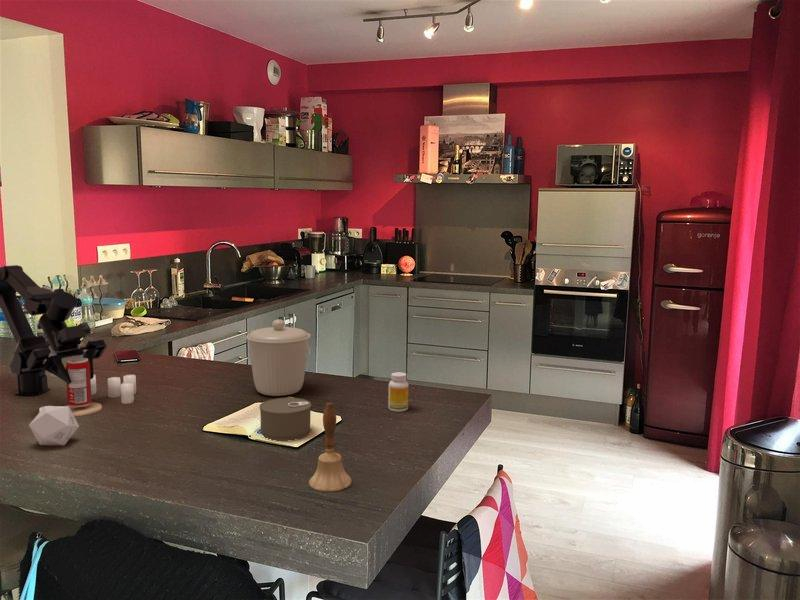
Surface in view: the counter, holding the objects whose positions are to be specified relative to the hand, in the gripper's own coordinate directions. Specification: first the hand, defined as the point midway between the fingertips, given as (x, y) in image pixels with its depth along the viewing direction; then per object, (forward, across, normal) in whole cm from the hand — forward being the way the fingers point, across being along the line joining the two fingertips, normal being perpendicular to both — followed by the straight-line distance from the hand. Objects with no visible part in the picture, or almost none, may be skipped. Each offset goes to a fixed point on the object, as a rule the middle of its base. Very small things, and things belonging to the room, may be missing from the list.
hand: (81, 380), depth 167 cm
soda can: (+4, 0, +6) cm, 7 cm away
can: (+42, +21, -31) cm, 57 cm away
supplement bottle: (+50, +52, -39) cm, 82 cm away
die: (+18, -16, -6) cm, 24 cm away
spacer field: (+6, +2, +6) cm, 8 cm away
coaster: (+5, 0, +6) cm, 8 cm away
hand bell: (+61, +6, -51) cm, 80 cm away
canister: (+24, +44, -13) cm, 52 cm away
